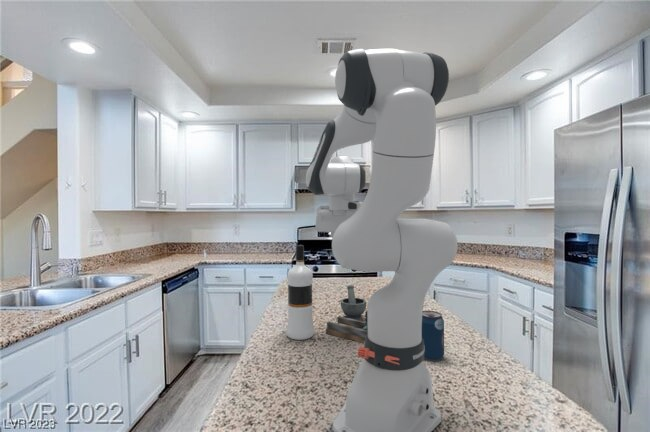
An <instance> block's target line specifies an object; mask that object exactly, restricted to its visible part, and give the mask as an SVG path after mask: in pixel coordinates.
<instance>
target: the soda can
mask: <svg viewBox="0 0 650 432" xmlns="http://www.w3.org/2000/svg"><path fill="white" fill-rule="evenodd" d="M422 338H423V340H424V346H425V352H424V360H427V361H430V362H436V361H441V360H442V358H443V357H444V355H445V320H444V319H443V316H442V313H441V312H439V311H435V310H423V313H422Z"/></svg>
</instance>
